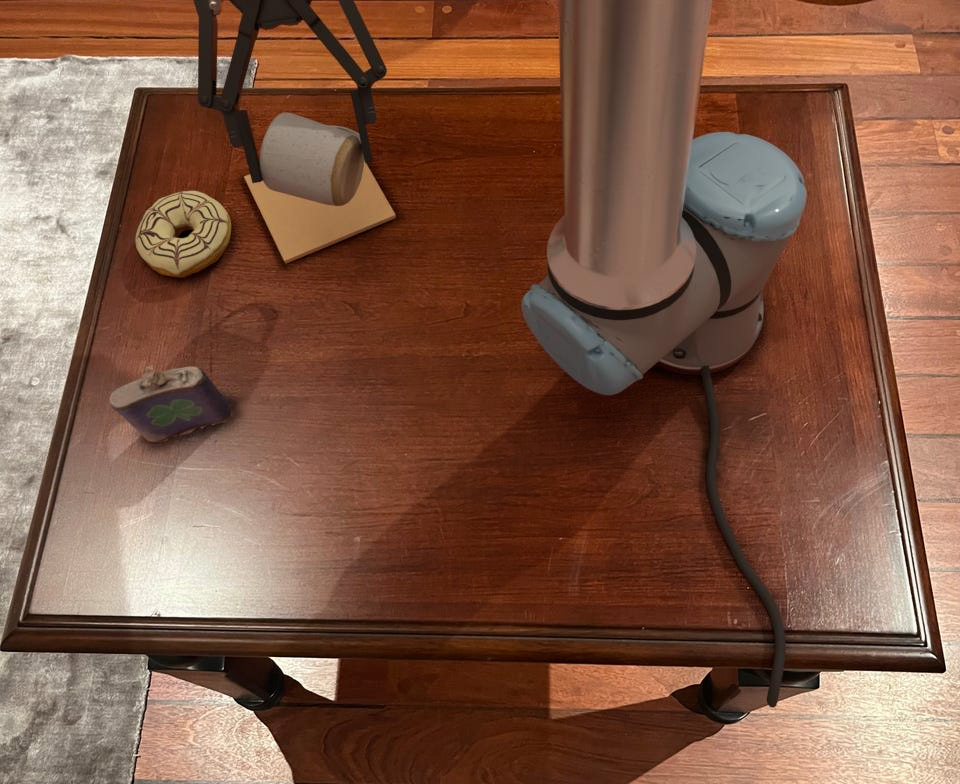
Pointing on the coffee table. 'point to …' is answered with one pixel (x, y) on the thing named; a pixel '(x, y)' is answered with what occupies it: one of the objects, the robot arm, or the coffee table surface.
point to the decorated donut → (173, 219)
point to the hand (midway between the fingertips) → (314, 171)
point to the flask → (170, 403)
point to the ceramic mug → (311, 160)
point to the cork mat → (319, 217)
